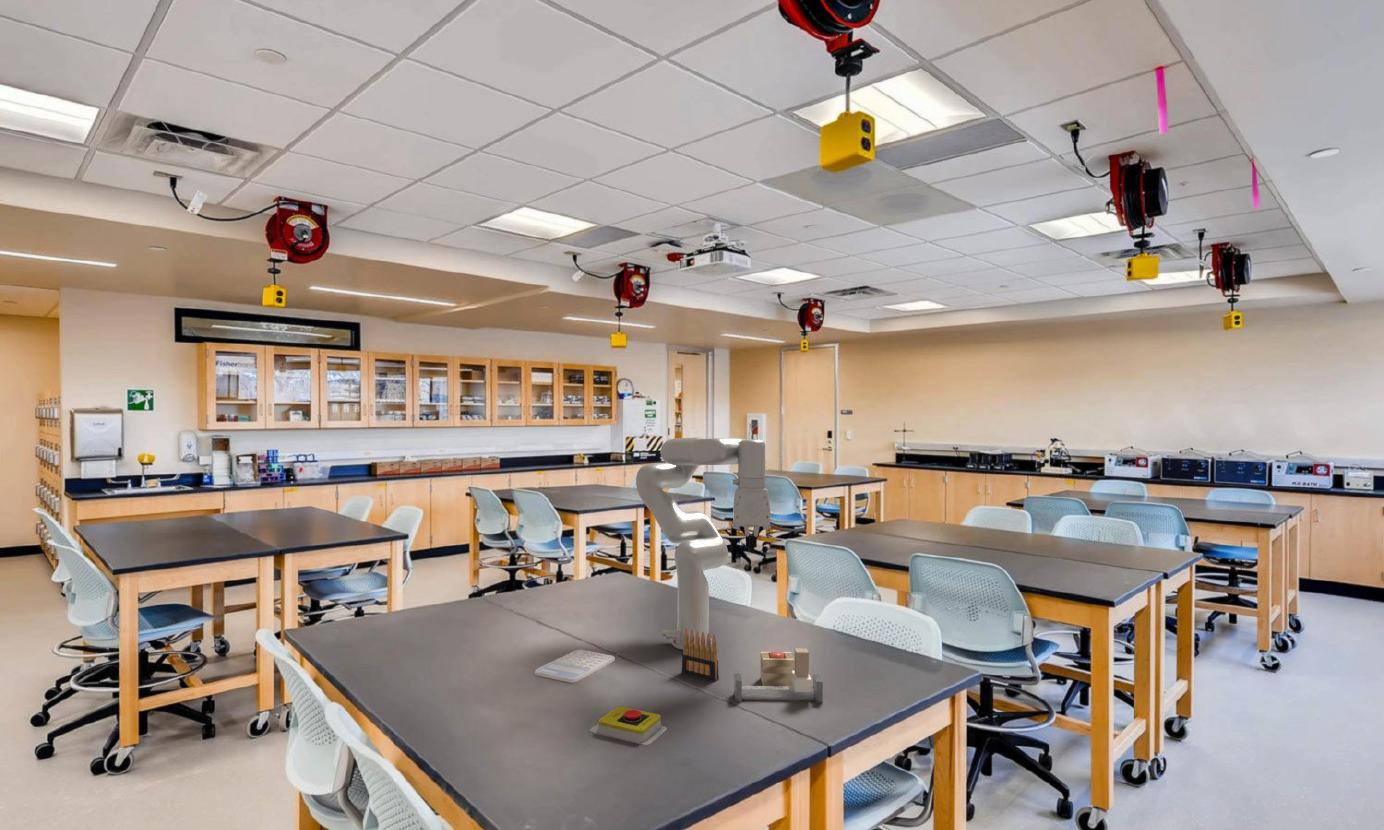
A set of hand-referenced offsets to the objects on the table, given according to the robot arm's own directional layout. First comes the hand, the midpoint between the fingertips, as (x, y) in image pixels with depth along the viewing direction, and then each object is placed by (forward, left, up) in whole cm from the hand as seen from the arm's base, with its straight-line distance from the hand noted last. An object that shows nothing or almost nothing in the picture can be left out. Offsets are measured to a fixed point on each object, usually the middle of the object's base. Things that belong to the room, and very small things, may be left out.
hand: (751, 549), depth 190 cm
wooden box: (+6, -12, -32) cm, 35 cm away
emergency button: (-30, -40, -33) cm, 60 cm away
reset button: (+6, -12, -28) cm, 31 cm away
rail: (+5, -22, -32) cm, 39 cm away
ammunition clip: (-14, -8, -32) cm, 36 cm away
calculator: (-48, -2, -33) cm, 58 cm away
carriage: (+11, -22, -29) cm, 38 cm away
